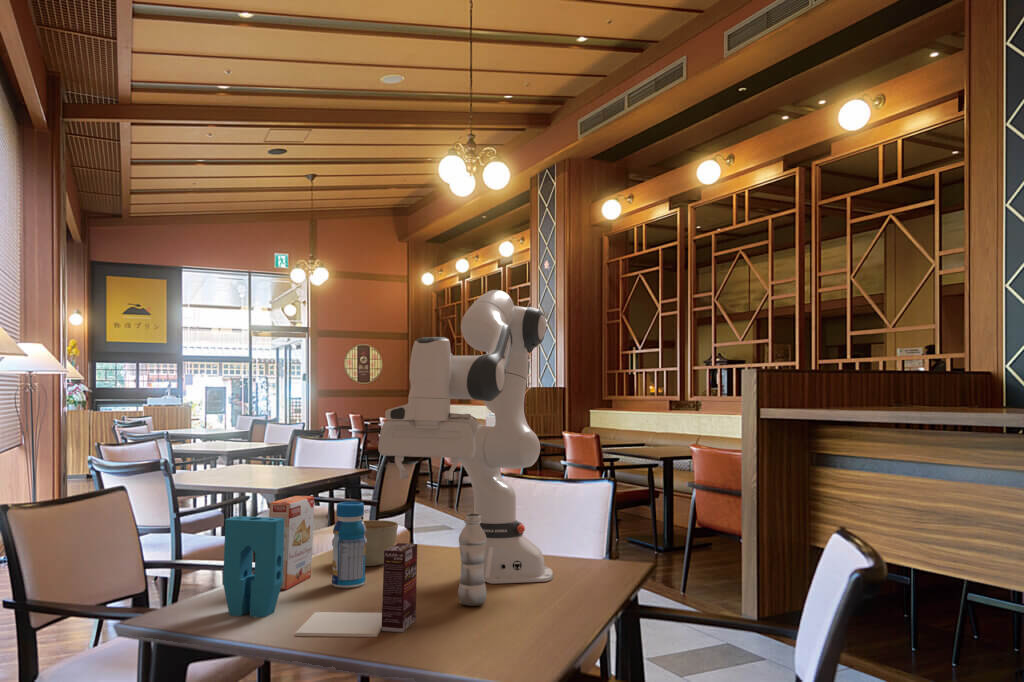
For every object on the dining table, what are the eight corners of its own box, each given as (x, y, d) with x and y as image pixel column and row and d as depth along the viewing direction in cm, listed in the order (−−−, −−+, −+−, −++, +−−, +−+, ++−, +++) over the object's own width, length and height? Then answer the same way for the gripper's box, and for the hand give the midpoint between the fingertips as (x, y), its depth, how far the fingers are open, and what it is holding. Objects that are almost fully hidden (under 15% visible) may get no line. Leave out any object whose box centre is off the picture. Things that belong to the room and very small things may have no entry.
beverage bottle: (349, 590, 177) (351, 506, 179) (323, 586, 181) (325, 503, 183) (372, 583, 184) (374, 502, 186) (347, 578, 189) (349, 500, 190)
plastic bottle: (465, 610, 161) (466, 518, 163) (453, 602, 167) (454, 513, 169) (491, 606, 164) (492, 516, 166) (478, 599, 170) (479, 511, 172)
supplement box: (403, 633, 145) (405, 551, 146) (380, 631, 146) (382, 550, 147) (417, 620, 154) (418, 543, 155) (395, 619, 154) (396, 542, 156)
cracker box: (287, 590, 177) (290, 502, 178) (264, 589, 178) (267, 502, 179) (313, 577, 190) (315, 495, 192) (291, 575, 191) (294, 494, 193)
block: (283, 611, 159) (286, 518, 161) (271, 618, 155) (274, 521, 156) (233, 608, 162) (236, 516, 163) (220, 614, 157) (223, 519, 158)
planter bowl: (408, 560, 211) (408, 521, 212) (375, 572, 196) (376, 530, 197) (361, 555, 217) (362, 517, 218) (327, 566, 203) (328, 526, 204)
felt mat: (389, 615, 157) (389, 612, 157) (377, 636, 143) (377, 633, 143) (315, 615, 157) (315, 612, 157) (295, 636, 143) (295, 632, 143)
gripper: (479, 414, 156) (477, 480, 155) (385, 411, 158) (382, 476, 157) (475, 413, 150) (473, 482, 149) (377, 410, 152) (374, 478, 150)
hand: (426, 479), depth 153 cm, fingers open, 8 cm apart
